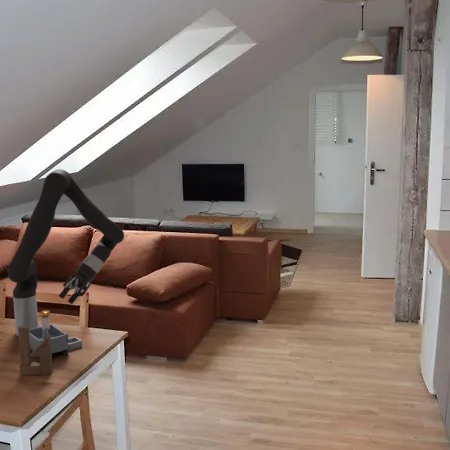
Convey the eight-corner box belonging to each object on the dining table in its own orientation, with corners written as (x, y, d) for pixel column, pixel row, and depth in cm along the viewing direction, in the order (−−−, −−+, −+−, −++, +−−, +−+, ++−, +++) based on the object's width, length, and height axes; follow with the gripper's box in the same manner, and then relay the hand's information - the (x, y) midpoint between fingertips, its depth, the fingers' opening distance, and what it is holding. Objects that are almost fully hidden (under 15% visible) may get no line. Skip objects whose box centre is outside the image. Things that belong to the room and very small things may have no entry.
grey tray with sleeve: (25, 351, 207) (24, 330, 206) (71, 338, 220) (69, 319, 218) (40, 363, 196) (39, 342, 195) (87, 349, 209) (86, 329, 207)
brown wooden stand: (50, 374, 188) (47, 327, 184) (19, 376, 187) (16, 328, 183) (52, 370, 191) (49, 323, 188) (22, 371, 190) (19, 324, 187)
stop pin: (39, 340, 205) (37, 312, 203) (49, 338, 208) (47, 309, 206) (43, 343, 202) (41, 314, 200) (53, 340, 205) (51, 312, 203)
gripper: (76, 259, 216) (50, 291, 211) (92, 265, 205) (66, 299, 200) (88, 269, 220) (64, 300, 215) (104, 276, 210) (79, 309, 204)
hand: (65, 300), depth 208 cm, fingers open, 8 cm apart
